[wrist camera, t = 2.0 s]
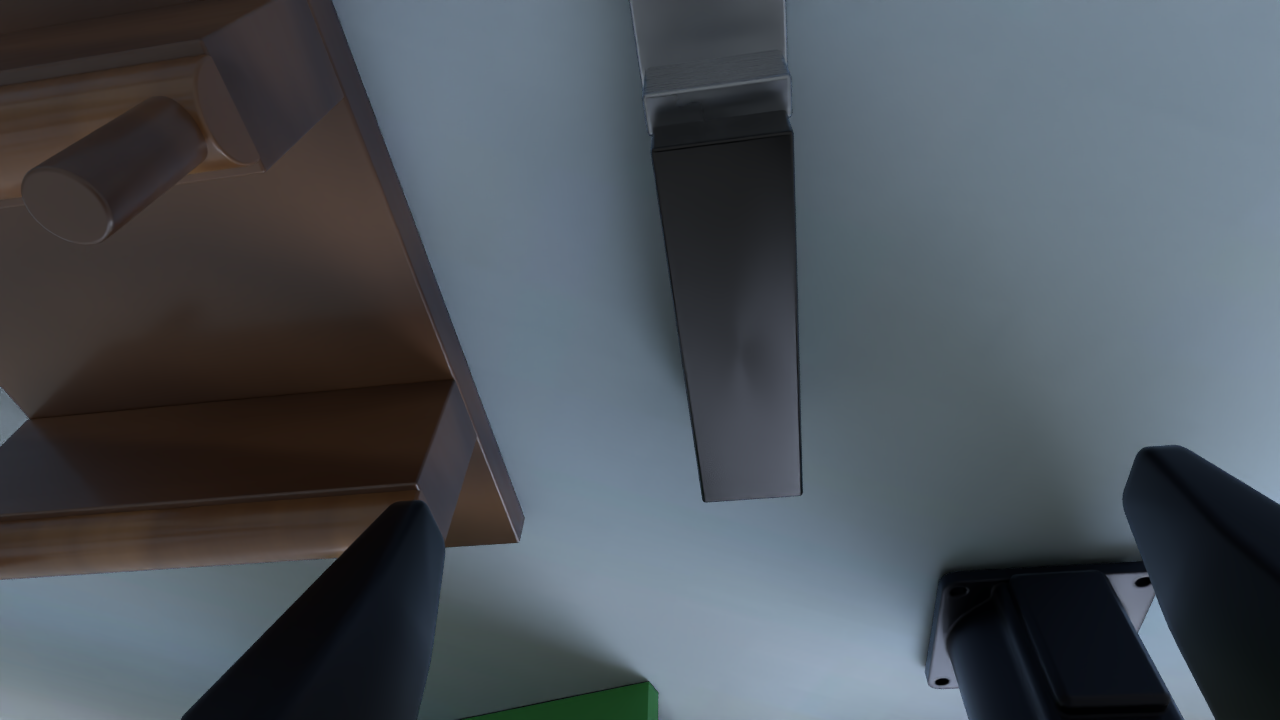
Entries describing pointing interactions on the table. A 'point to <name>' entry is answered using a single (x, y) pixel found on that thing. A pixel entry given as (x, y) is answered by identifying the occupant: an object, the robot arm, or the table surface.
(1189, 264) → the table surface
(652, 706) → the hardback book
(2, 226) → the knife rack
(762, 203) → the kitchen knife
